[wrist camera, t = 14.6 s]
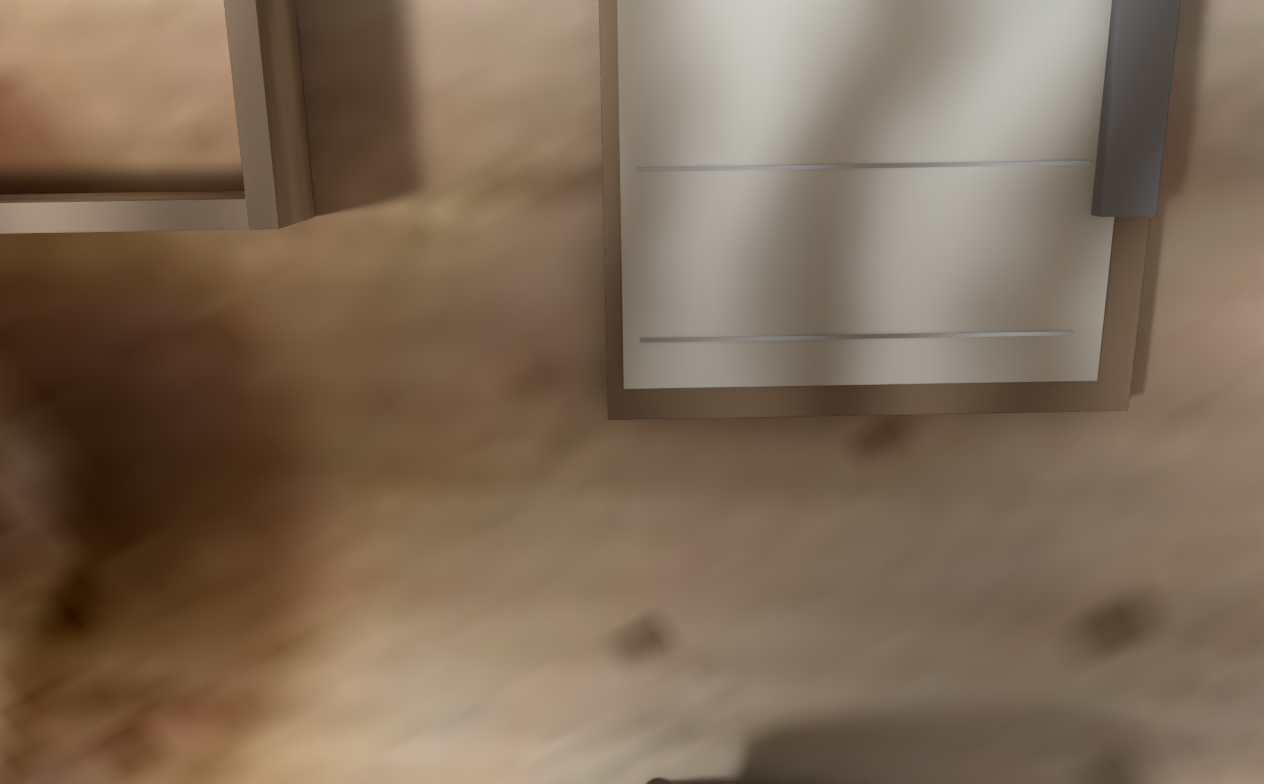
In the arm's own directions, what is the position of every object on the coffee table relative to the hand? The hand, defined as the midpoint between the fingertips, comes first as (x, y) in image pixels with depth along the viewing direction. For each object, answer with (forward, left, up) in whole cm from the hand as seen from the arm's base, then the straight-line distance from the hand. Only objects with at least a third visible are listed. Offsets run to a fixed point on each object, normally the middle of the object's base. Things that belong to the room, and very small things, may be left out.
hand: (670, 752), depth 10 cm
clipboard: (+7, +7, -23) cm, 25 cm away
